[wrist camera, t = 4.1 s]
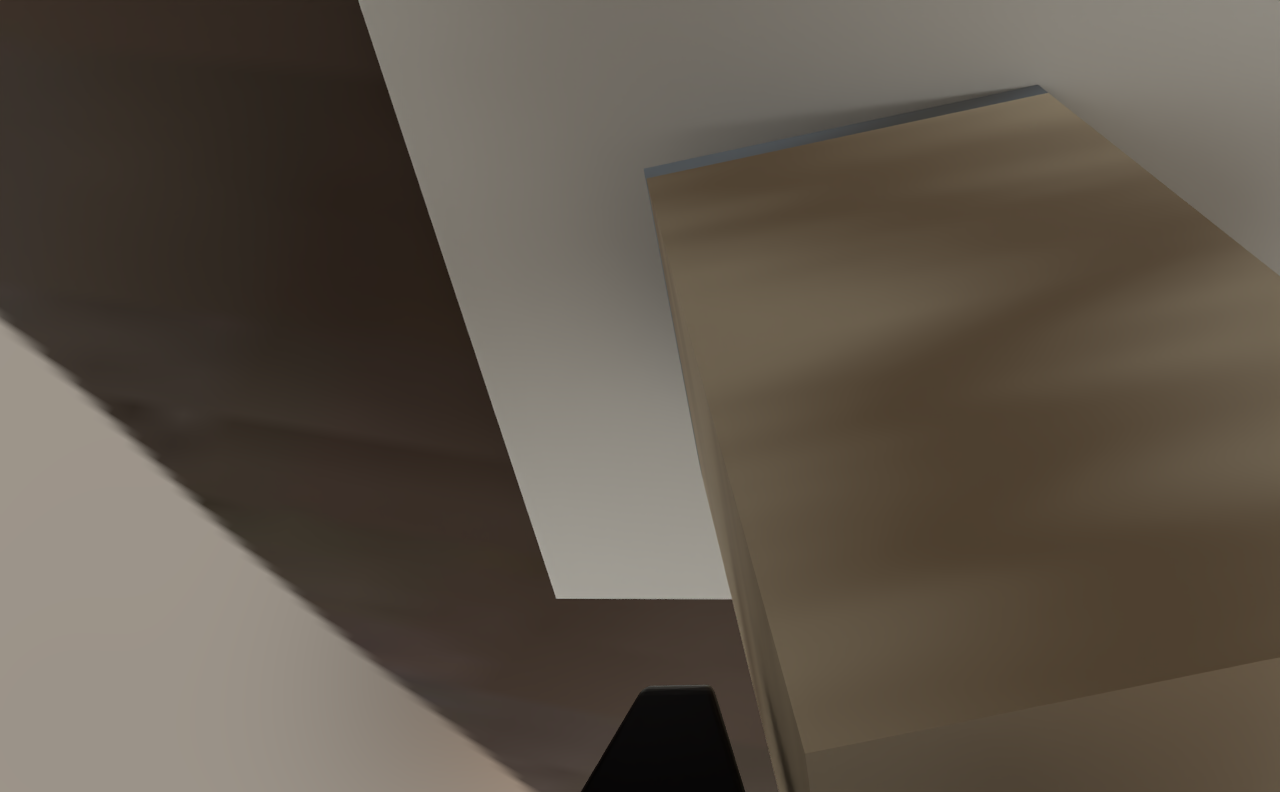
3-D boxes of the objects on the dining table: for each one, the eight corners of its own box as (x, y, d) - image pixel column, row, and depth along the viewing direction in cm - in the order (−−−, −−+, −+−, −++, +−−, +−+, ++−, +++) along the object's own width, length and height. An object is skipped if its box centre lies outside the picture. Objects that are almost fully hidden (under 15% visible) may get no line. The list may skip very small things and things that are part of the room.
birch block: (1038, 84, 13) (1662, 579, 6) (1021, 401, 16) (1423, 978, 9) (644, 168, 13) (805, 754, 6) (699, 468, 16) (851, 1092, 9)
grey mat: (2684, -688, 8) (2761, -698, 7) (1788, 583, 16) (1807, 603, 16) (304, -210, 12) (290, -205, 12) (560, 583, 21) (556, 598, 20)
